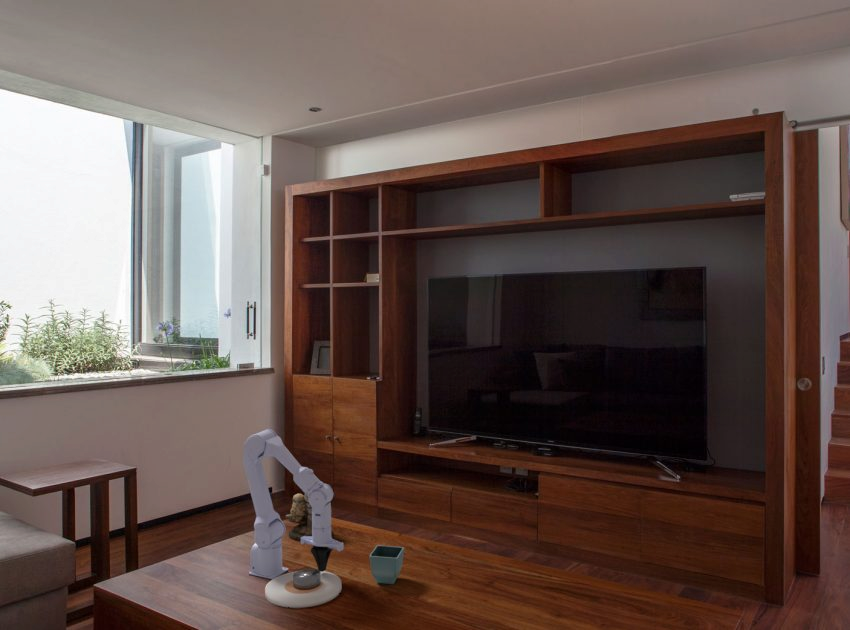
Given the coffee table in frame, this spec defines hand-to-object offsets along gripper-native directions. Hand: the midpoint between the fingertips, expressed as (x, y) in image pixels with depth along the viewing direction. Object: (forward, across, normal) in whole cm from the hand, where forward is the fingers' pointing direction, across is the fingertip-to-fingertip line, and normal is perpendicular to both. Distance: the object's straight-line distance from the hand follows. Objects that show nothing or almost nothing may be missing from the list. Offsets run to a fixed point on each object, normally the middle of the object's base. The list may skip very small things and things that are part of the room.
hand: (322, 570), depth 202 cm
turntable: (+2, 0, +9) cm, 10 cm away
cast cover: (+1, 0, +8) cm, 9 cm away
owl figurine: (+3, +25, -28) cm, 38 cm away
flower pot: (+3, -19, -7) cm, 20 cm away
